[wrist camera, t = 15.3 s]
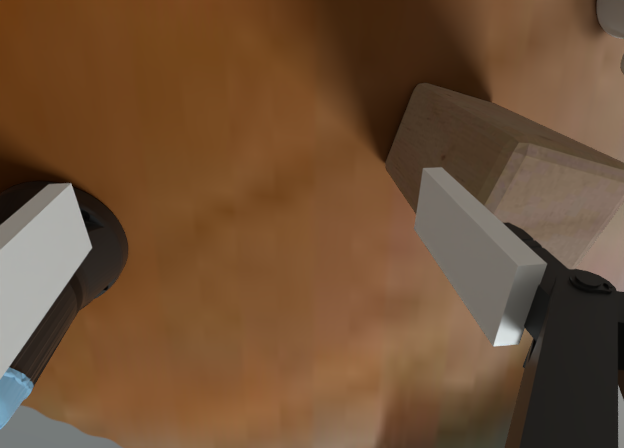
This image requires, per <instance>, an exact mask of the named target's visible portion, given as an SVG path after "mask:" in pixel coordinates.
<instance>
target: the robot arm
mask: <svg viewBox="0 0 624 448" xmlns="http://www.w3.org/2000/svg"><path fill="white" fill-rule="evenodd" d="M414 229H415V231H416V232H417V234H418V235H419V237H420V238H421V240H422V241H423V243H424V244H425V246H426V247H427V249H428V250H429V252H430V253H431V255H432V256H433V258H434V259H435V261H436V262H437V264H438V265H439V267H440V268H441V270H442V271H443V273H444V274H445V276H446V277H447V279H448V280H449V281H450V283H451V284H452V286H453V287H454V289H455V290H456V292H457V293H458V295H459V296H460V298H461V299H462V301H463V302H464V304H465V305H466V307H467V308H468V310H469V311H470V313H471V314H472V316H473V317H474V319H475V320H476V322H477V323H478V325H479V326H480V328H481V329H482V331H483V332H484V334H485V335H486V337H487V338H488V340H489V341H490V342H491V344H492V345H493V346H504V345H515V344H519V343H520V340H521V337H522V334H523V331H524V328H526V330H527V331H528V332H529V333H530V335H531V336H532V337H533V341H532V343H531V346H530V349H529V351H528V354H527V357H526V359H525V362H524V365H523V367H524V368H525V369H524V373H523V377H522V381H521V385H520V389H519V393H518V397H517V401H516V405H515V409H514V413H513V417H512V421H511V425H510V429H509V433H508V437H507V441H506V445H505V448H618V385H619V388H620V391H621V394H622V396H623V399H624V292H619V291H616V288H615V287H614V286H613V285H612V284H611V283H610V282H609V281H607V280H606V279H604V278H602V277H601V276H599V275H596V274H593V273H591V272H588V271H583V270H578V269H568V268H567V267H566V266H565V265H563V264H562V263H561V262H560V261H559V260H558V259H557V258H555V257H554V256H553V255H552V254H551V253H550V252H548V251H547V250H546V249H545V248H542V245H540V244H539V243H538V242H537V241H536V240H534V239H533V238H532V237H531V236H530V235H529V234H528V233H527V232H525V231H524V230H523V229H521V228H519V227H517V226H515V225H513V224H511V223H509V222H506V223H502V222H501V221H500V220H499V219H498V218H497V217H496V216H494V215H493V214H492V213H491V212H490V211H489V210H488V209H487V208H486V207H485V206H484V205H482V204H481V203H480V202H479V201H478V200H477V199H476V198H475V197H474V196H473V195H471V194H470V193H469V192H468V191H467V190H466V189H465V188H464V187H463V186H462V185H461V184H459V183H458V182H457V181H456V180H455V179H454V178H453V177H452V176H451V175H450V174H449V173H447V172H446V171H445V170H444V169H443V168H442V167H436V168H423V171H422V178H421V185H420V192H419V199H418V206H417V213H416V220H415V227H414ZM127 257H128V243H127V238H126V235H125V232H124V230H123V228H122V226H121V224H120V223H119V221H118V220H117V218H116V217H115V216H114V215H113V213H112V212H111V211H110V210H109V209H108V208H107V207H106V206H105V205H103V204H102V203H101V202H100V201H98V200H97V199H95V198H94V197H92V196H91V195H89V194H87V193H85V192H83V191H81V190H79V189H76V188H74V187H72V184H71V183H63V184H60V183H55V182H47V181H34V182H26V183H22V184H18V185H15V186H13V187H10V188H8V189H6V190H5V191H3V192H2V193H0V430H1V429H2V428H3V427H4V426H5V424H6V423H7V422H8V421H9V419H10V418H11V416H12V415H13V414H14V412H15V411H16V410H17V408H18V407H19V405H20V404H21V403H22V401H23V400H24V399H26V398H27V397H28V396H29V394H30V393H31V391H32V389H33V387H34V385H35V383H36V382H37V380H38V378H39V377H40V375H41V373H42V372H43V370H44V368H45V367H46V365H47V363H48V362H49V360H50V358H51V357H52V355H53V353H54V351H55V350H56V348H57V346H58V345H59V343H60V341H61V340H62V338H63V336H64V335H65V333H66V331H67V330H68V328H69V326H70V325H71V323H72V321H73V320H74V318H75V316H76V315H77V313H78V312H79V310H81V309H82V308H84V307H85V306H86V305H88V304H89V303H90V302H91V301H92V300H93V299H95V298H97V297H98V296H100V295H102V294H103V293H105V292H106V291H107V290H108V289H109V288H110V287H111V286H112V285H113V284H114V283H115V282H116V280H117V279H118V277H119V275H120V274H121V272H122V270H123V268H124V266H125V264H126V261H127Z"/></svg>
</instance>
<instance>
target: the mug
mask: <svg viewBox="0 0 624 448" xmlns="http://www.w3.org/2000/svg"><path fill="white" fill-rule="evenodd" d="M597 17H598V20H599V23H600V25H601V27H602V28H603V29H604V31H605V32H607V33H608V34H609V35H611V36H613V37H616V38H620V39H624V0H597ZM620 68H621V71H622V73H623V74H624V55H623V57H622V60H621V66H620Z"/></svg>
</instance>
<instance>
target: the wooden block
mask: <svg viewBox="0 0 624 448" xmlns="http://www.w3.org/2000/svg"><path fill="white" fill-rule="evenodd" d="M385 163H386V170H387V172H388V173H389V175H390V176H391V177H392V179H393V180H394V182H395V183H396V185H397V186H398V188H399V189H400V191H401V192H402V194H403V195H404V197H405V198H406V200H407V201H408V203H409V204H410V206H411V207H412V209H413V210H414V212H415V213H417V206H418V199H419V192H420V185H421V178H422V171H423V168H436V167H442V168H443V169H444V170H445V171H446V172H447V173H449V174H450V175H451V176H452V177H453V178H454V179H455V180H456V181H457V182H458V183H459V184H461V185H462V186H463V187H464V188H465V189H466V190H467V191H468V192H469V193H470V194H471V195H473V196H474V197H475V198H476V199H477V200H478V201H479V202H480V203H481V204H482V205H484V206H485V207H486V208H487V209H488V210H489V211H490V212H491V213H492V214H493V215H494V216H496V217H497V218H498V219H499V220H500V221H501V222H502V223H506V222H509V223H511V224H513V225H515V226H517V227H519V228H521V229H523V230H524V231H525V232H527V233H528V234H529V235H530V236H531V237H532V238H533V239H534V240H536V241H537V242H538V243H539V244H540V245H542V248H545V249H546V250H547V251H548V252H550V253H551V254H552V255H553V256H554V257H555V258H557V259H558V260H559V261H560V262H561V263H562V264H563V265H565V266H566V267H567V268H568V269H576V267H577V266H578V265H579V263H580V262H581V261H582V259H583V258H584V256H585V255H586V254H587V252H588V251H589V249H590V248H591V247H592V245H593V244H594V243H595V241H596V240H597V238H598V237H599V236H600V234H601V233H602V231H603V230H604V229H605V227H606V226H607V225H608V223H609V222H610V220H611V219H612V218H613V216H614V215H615V213H616V212H617V211H618V209H619V208H620V207H621V205H622V204H623V202H624V163H623V162H621V161H619V160H617V159H614V158H612V157H610V156H608V155H606V154H603V153H601V152H599V151H597V150H595V149H593V148H590V147H588V146H586V145H584V144H582V143H580V142H577V141H575V140H573V139H571V138H569V137H567V136H564V135H562V134H560V133H558V132H556V131H553V130H551V129H549V128H547V127H545V126H543V125H540V124H538V123H536V122H534V121H532V120H530V119H527V118H525V117H523V116H521V115H519V114H517V113H514V112H512V111H510V110H508V109H506V108H503V107H501V106H499V105H497V104H495V103H492V102H488V101H485V100H482V99H478V98H475V97H472V96H468V95H465V94H462V93H459V92H455V91H452V90H449V89H445V88H442V87H439V86H435V85H432V84H429V83H421V84H418V85H417V86H416V88H415V89H414V90H413V93H412V95H411V98H410V101H409V103H408V106H407V108H406V111H405V113H404V116H403V119H402V121H401V124H400V126H399V129H398V131H397V134H396V137H395V139H394V142H393V144H392V147H391V149H390V152H389V155H388V157H387V160H386V162H385Z"/></svg>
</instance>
